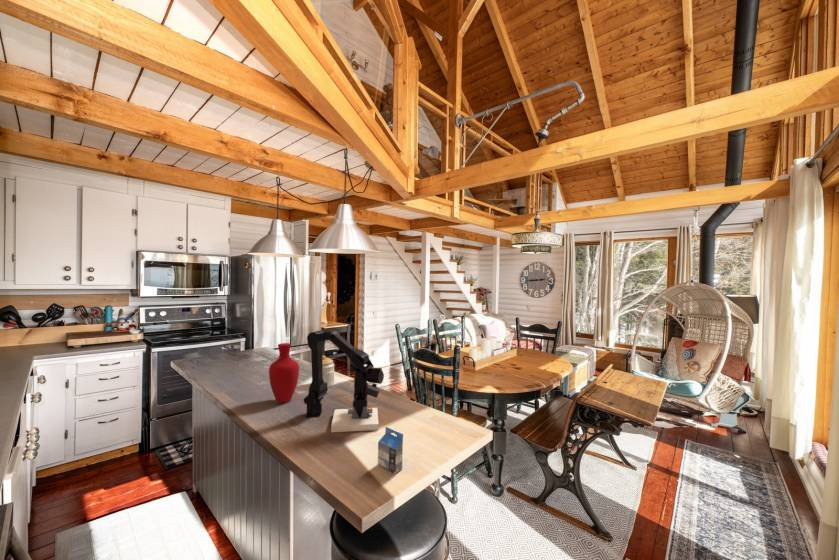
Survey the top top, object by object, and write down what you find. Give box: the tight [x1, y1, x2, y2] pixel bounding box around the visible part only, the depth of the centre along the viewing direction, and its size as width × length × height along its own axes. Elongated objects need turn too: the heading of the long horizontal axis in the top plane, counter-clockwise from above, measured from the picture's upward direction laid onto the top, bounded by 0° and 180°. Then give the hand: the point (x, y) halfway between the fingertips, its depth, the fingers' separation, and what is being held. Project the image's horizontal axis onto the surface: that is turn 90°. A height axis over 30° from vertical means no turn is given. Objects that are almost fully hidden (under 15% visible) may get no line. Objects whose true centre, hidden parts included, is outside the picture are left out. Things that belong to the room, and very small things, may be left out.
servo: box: [347, 405, 373, 419], centre depth 155 cm, size 11×4×6 cm, turn 99°
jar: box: [322, 355, 335, 388], centre depth 206 cm, size 13×13×18 cm
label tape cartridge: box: [377, 426, 404, 475], centre depth 119 cm, size 9×4×12 cm, turn 50°
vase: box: [268, 342, 300, 404], centre depth 178 cm, size 15×15×30 cm
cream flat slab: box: [330, 407, 379, 433], centre depth 155 cm, size 20×18×3 cm
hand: (360, 415), depth 155 cm, fingers closed on servo, 4 cm apart
